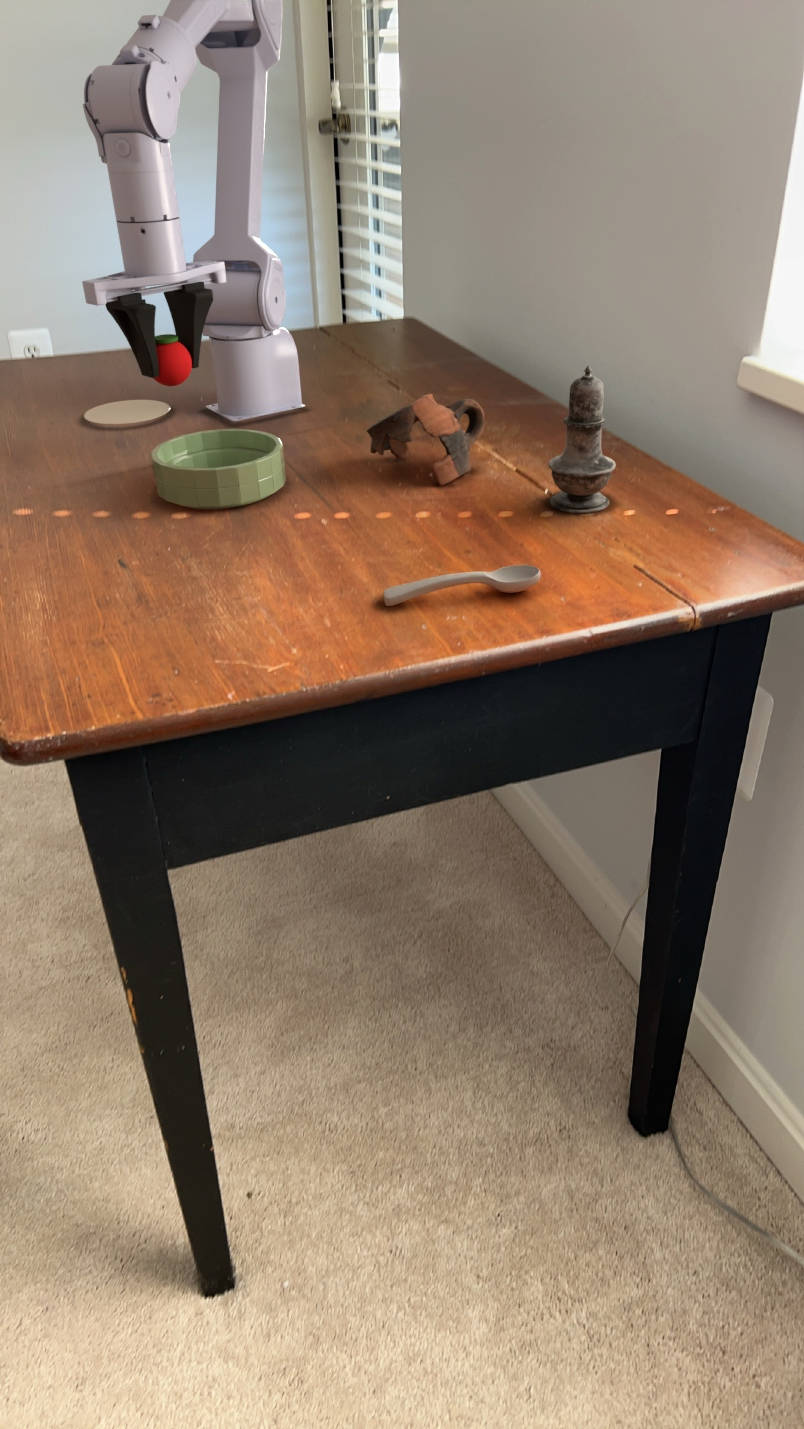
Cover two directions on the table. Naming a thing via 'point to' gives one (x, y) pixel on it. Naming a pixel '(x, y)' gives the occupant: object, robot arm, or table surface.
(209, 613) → the table surface
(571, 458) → the salt shaker
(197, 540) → the table surface
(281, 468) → the bowl
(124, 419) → the saucer
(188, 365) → the tomato
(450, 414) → the brown irregular piece
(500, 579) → the spoon
